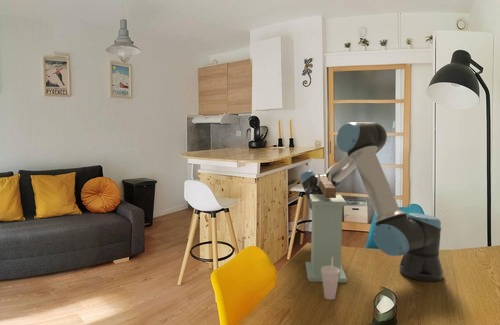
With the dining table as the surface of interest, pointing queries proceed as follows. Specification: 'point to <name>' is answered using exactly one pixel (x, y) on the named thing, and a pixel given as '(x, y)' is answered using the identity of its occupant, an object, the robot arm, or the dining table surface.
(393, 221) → the robot arm
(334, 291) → the smoothie
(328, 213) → the stand
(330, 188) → the walnut bar
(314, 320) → the dining table surface
